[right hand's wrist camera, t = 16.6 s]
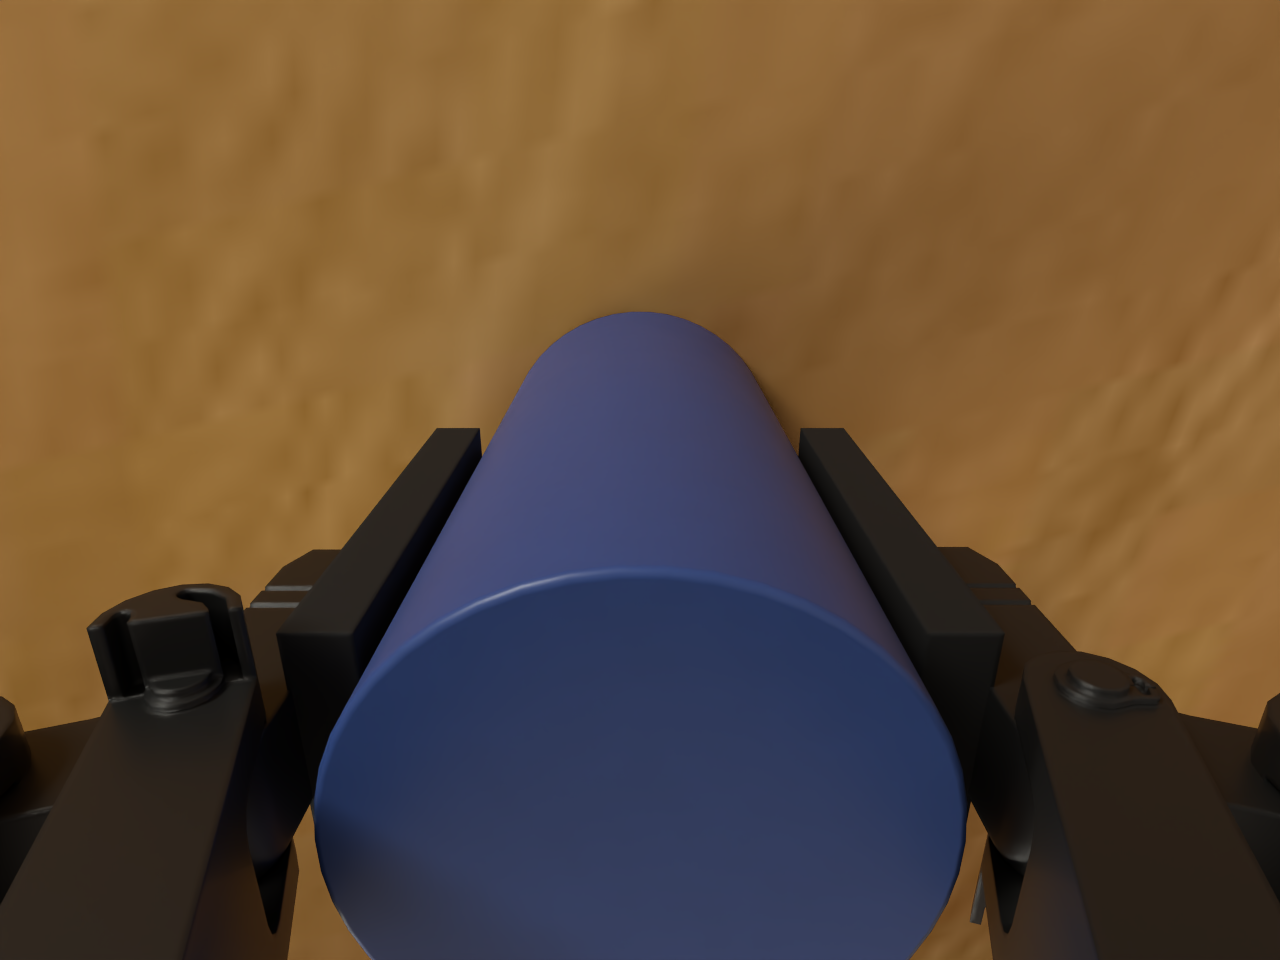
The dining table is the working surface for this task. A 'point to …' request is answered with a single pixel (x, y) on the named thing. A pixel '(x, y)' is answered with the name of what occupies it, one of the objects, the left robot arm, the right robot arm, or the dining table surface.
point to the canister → (640, 696)
